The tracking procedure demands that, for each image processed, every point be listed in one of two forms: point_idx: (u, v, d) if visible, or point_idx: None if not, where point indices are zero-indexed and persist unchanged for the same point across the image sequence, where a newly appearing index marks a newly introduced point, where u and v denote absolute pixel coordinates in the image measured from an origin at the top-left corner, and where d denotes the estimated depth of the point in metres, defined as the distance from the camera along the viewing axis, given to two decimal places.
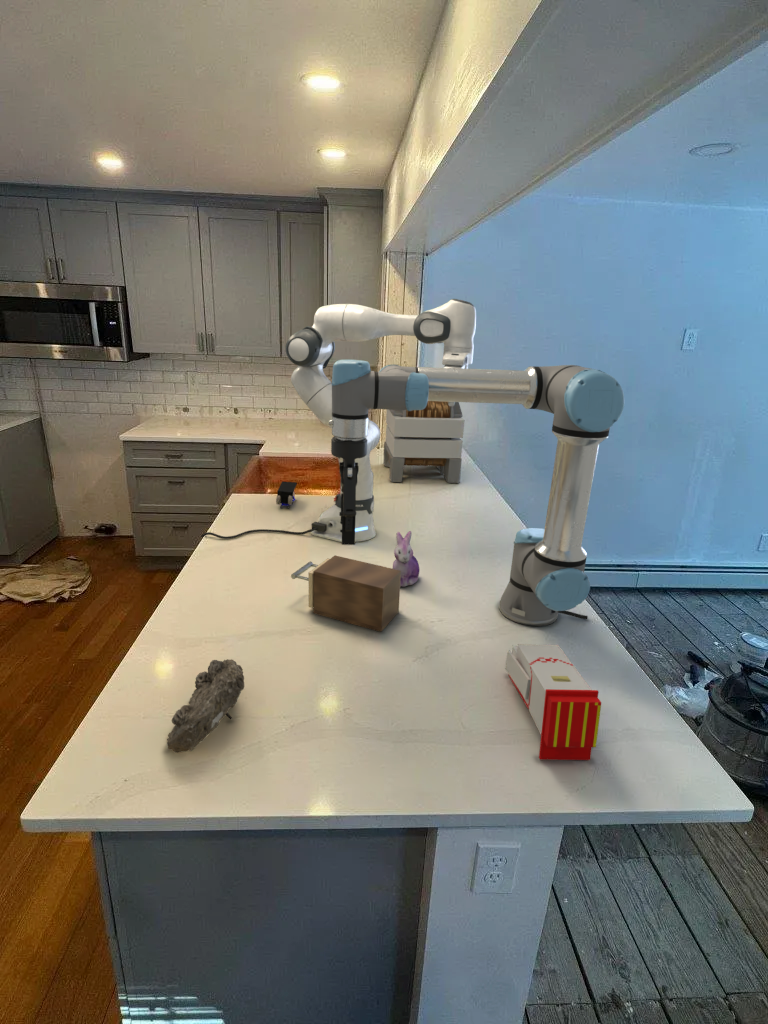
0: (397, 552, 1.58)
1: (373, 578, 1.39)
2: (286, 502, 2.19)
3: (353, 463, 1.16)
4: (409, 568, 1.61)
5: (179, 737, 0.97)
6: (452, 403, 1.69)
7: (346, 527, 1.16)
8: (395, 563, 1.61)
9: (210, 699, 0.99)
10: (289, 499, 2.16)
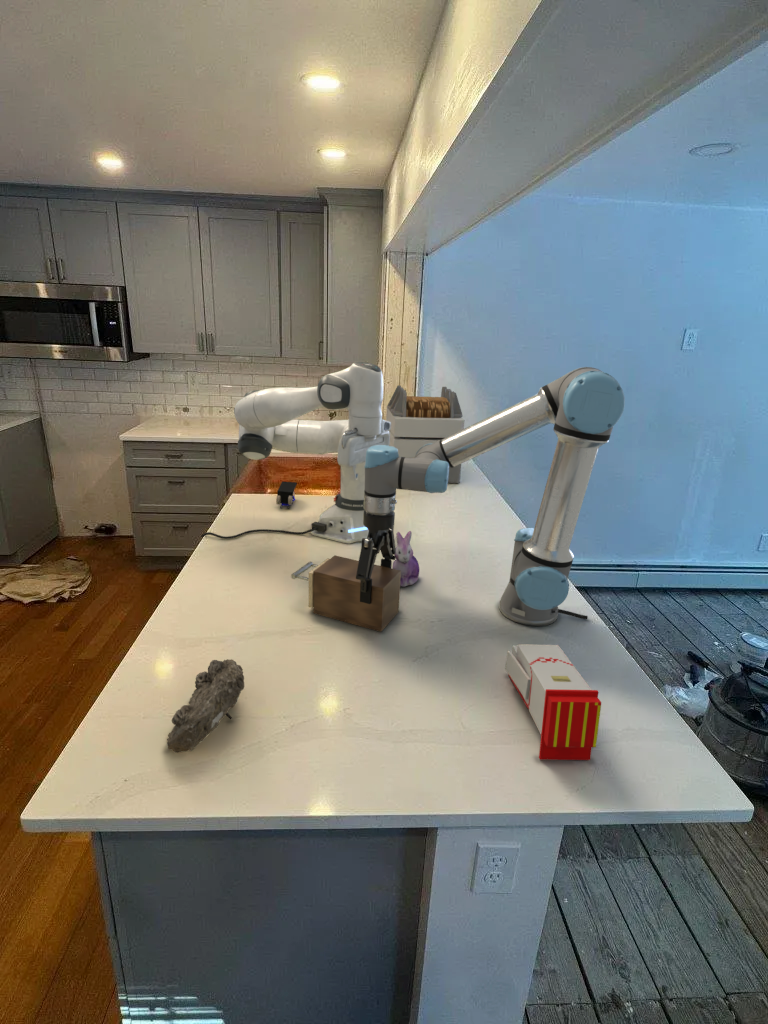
0: (397, 552, 1.58)
1: (373, 578, 1.39)
2: (286, 502, 2.19)
3: None
4: (409, 568, 1.61)
5: (179, 737, 0.97)
6: None
7: None
8: (395, 563, 1.61)
9: (210, 699, 0.99)
10: (289, 499, 2.16)
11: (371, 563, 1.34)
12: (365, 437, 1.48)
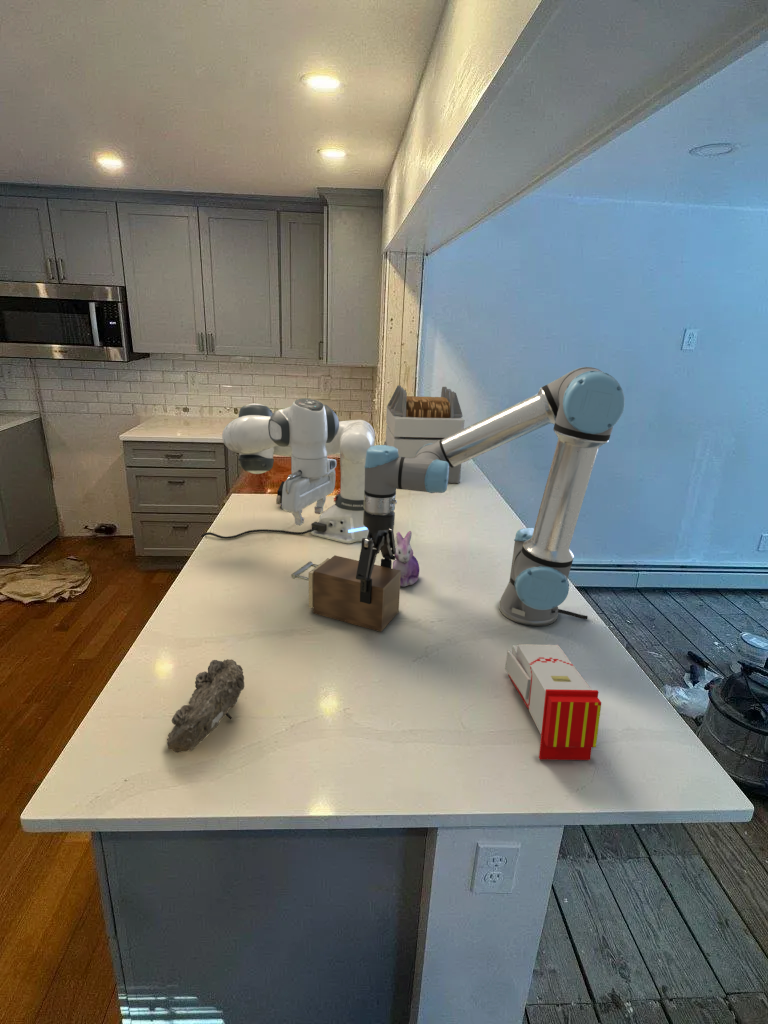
0: (397, 552, 1.58)
1: (373, 578, 1.39)
2: None
3: None
4: (409, 568, 1.61)
5: (179, 737, 0.97)
6: None
7: None
8: (395, 563, 1.61)
9: (210, 699, 0.99)
10: None
11: (371, 563, 1.34)
12: (310, 479, 1.38)
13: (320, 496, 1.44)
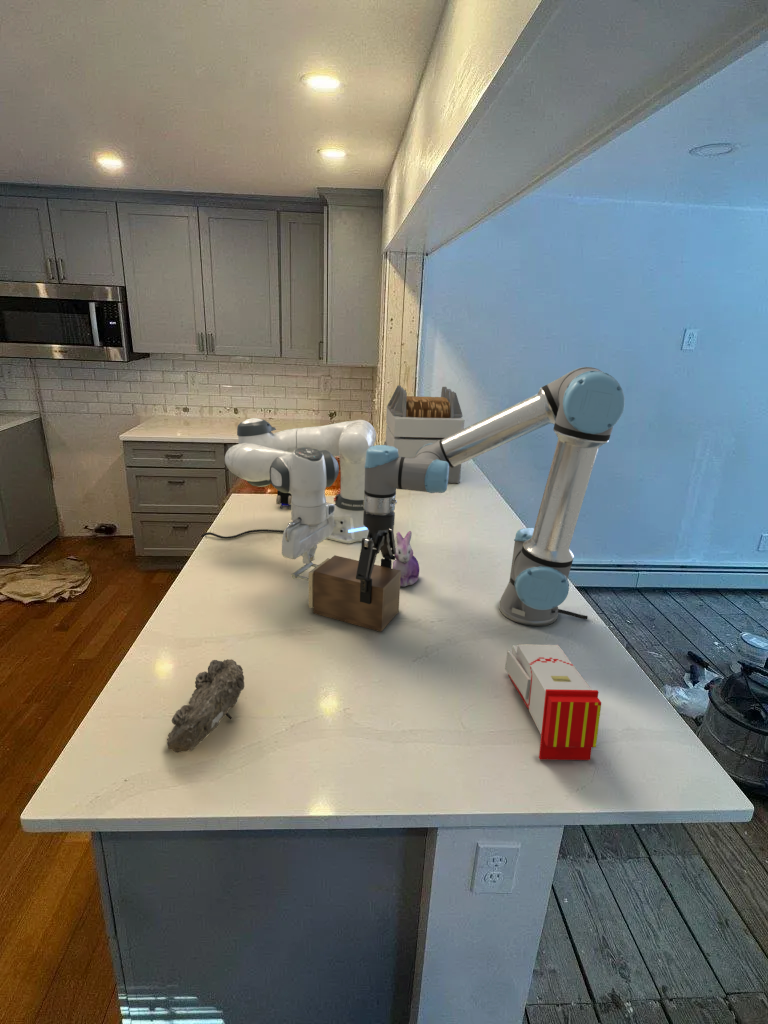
0: (397, 552, 1.58)
1: (373, 578, 1.39)
2: (286, 502, 2.19)
3: None
4: (409, 568, 1.61)
5: (179, 737, 0.97)
6: None
7: None
8: (395, 563, 1.61)
9: (210, 699, 0.99)
10: (289, 499, 2.16)
11: (371, 563, 1.34)
12: (309, 525, 1.42)
13: (319, 540, 1.48)
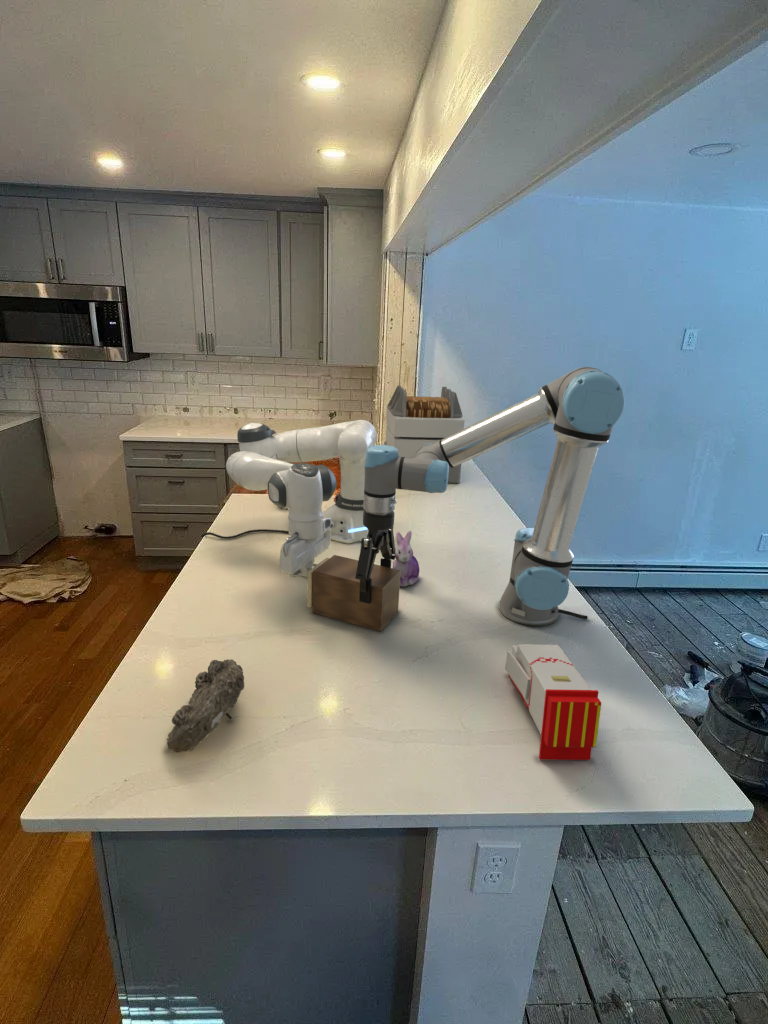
0: (397, 552, 1.58)
1: (373, 578, 1.40)
2: None
3: None
4: (409, 568, 1.61)
5: (179, 737, 0.97)
6: None
7: None
8: (395, 563, 1.61)
9: (210, 699, 0.99)
10: None
11: (371, 563, 1.34)
12: (307, 540, 1.44)
13: (316, 554, 1.50)
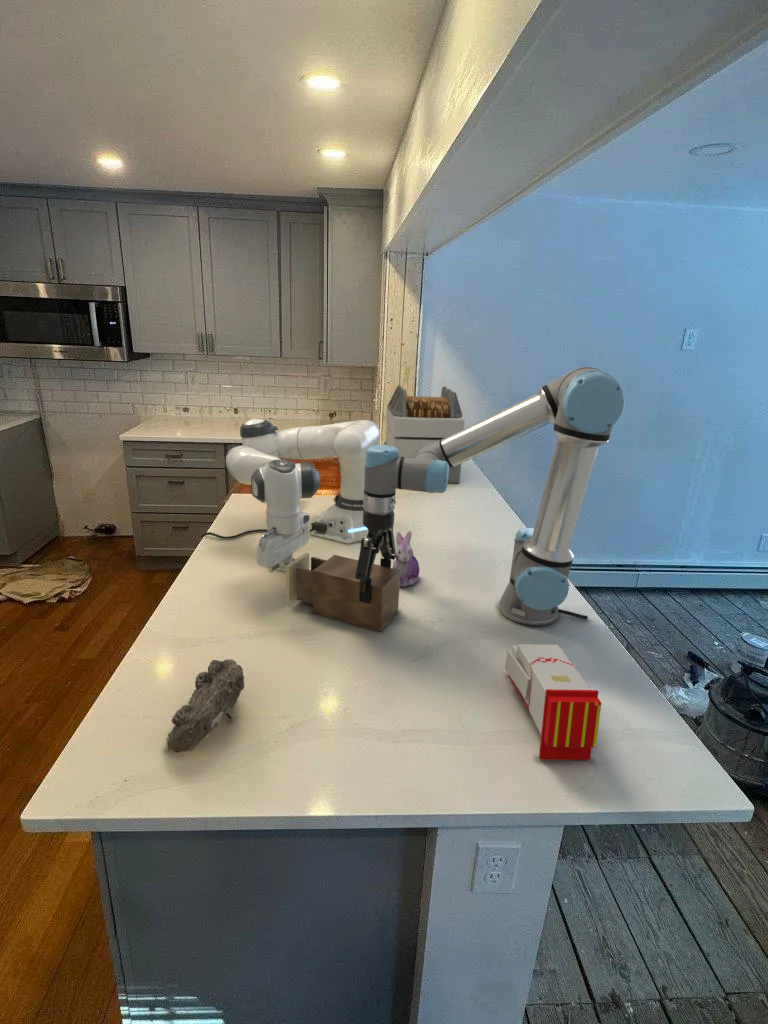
0: (397, 552, 1.58)
1: (373, 578, 1.40)
2: None
3: None
4: (409, 568, 1.61)
5: (179, 737, 0.97)
6: None
7: None
8: (395, 563, 1.61)
9: (210, 699, 0.99)
10: None
11: (370, 563, 1.34)
12: (284, 535, 1.46)
13: (295, 549, 1.53)
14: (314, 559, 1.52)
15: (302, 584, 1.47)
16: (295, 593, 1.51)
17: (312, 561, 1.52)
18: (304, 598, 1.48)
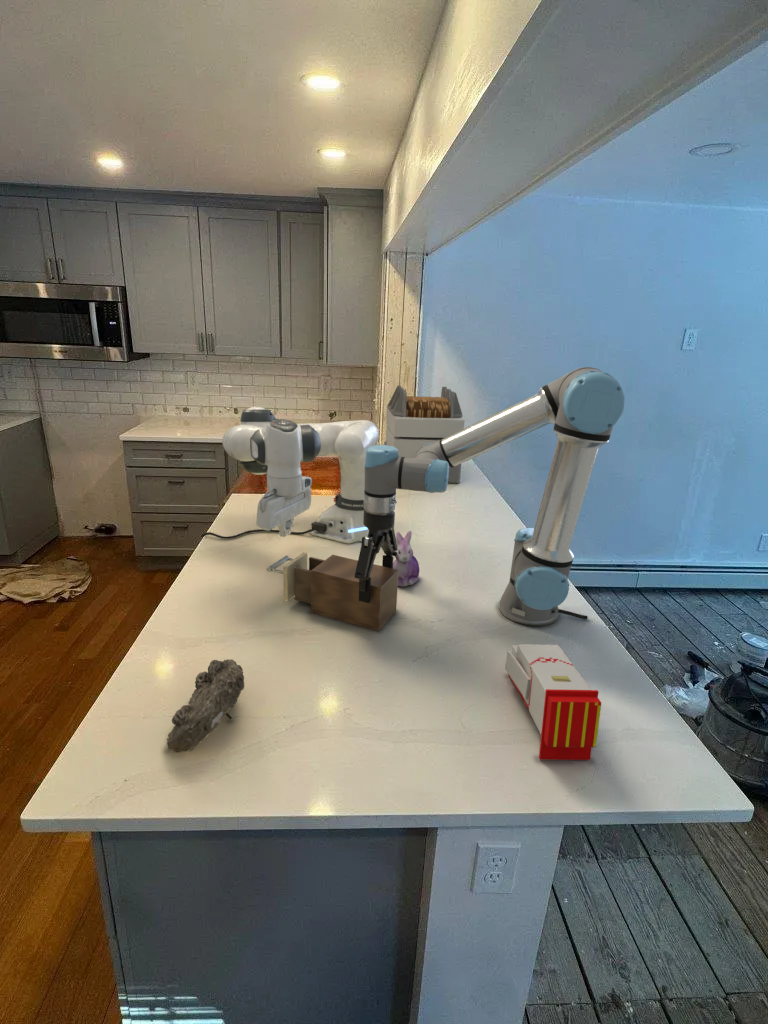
0: (397, 552, 1.58)
1: (371, 577, 1.40)
2: None
3: None
4: (409, 568, 1.61)
5: (179, 737, 0.97)
6: None
7: None
8: (395, 563, 1.61)
9: (210, 699, 0.99)
10: None
11: (370, 562, 1.34)
12: (285, 497, 1.42)
13: (296, 513, 1.49)
14: (312, 559, 1.52)
15: (300, 584, 1.47)
16: (293, 593, 1.52)
17: (310, 561, 1.53)
18: (302, 598, 1.48)
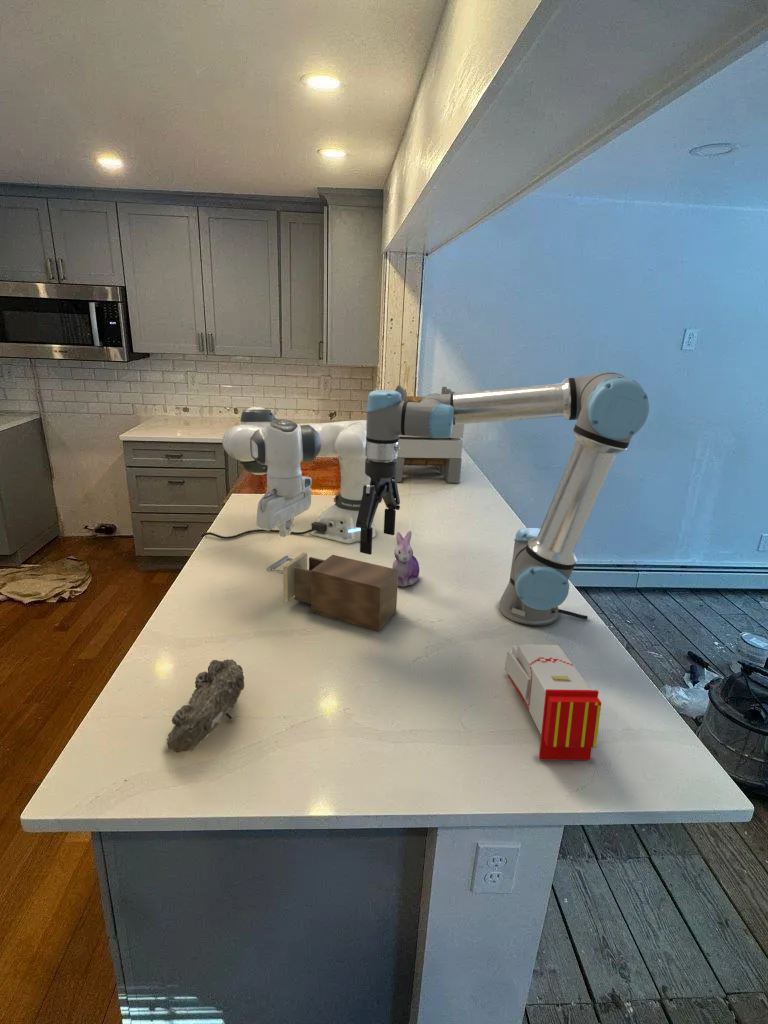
0: (397, 552, 1.58)
1: (371, 577, 1.40)
2: None
3: None
4: (409, 568, 1.61)
5: (179, 737, 0.97)
6: None
7: None
8: (395, 563, 1.61)
9: (210, 699, 0.99)
10: None
11: (372, 511, 1.29)
12: (285, 497, 1.42)
13: (296, 513, 1.49)
14: (312, 559, 1.52)
15: (300, 584, 1.47)
16: (293, 593, 1.52)
17: (310, 561, 1.53)
18: (302, 598, 1.48)
